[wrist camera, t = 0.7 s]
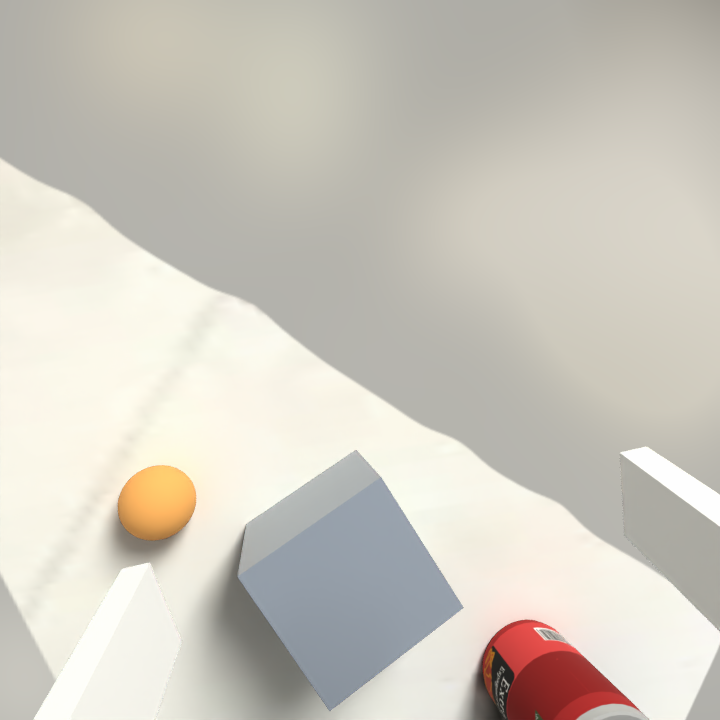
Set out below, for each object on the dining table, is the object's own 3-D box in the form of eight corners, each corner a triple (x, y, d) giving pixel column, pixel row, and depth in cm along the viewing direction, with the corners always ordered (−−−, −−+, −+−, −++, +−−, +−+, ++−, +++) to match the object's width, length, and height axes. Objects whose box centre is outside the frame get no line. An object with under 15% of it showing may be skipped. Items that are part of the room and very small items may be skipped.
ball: (209, 511, 35) (199, 536, 30) (142, 535, 34) (120, 564, 29) (189, 449, 35) (175, 464, 30) (121, 471, 34) (95, 490, 29)
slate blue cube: (420, 551, 38) (463, 607, 30) (316, 628, 37) (329, 711, 28) (356, 449, 37) (380, 477, 29) (246, 524, 36) (237, 576, 27)
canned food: (466, 642, 39) (540, 750, 28) (546, 600, 40) (646, 687, 30) (496, 722, 39) (580, 858, 29) (575, 677, 41) (683, 792, 30)
